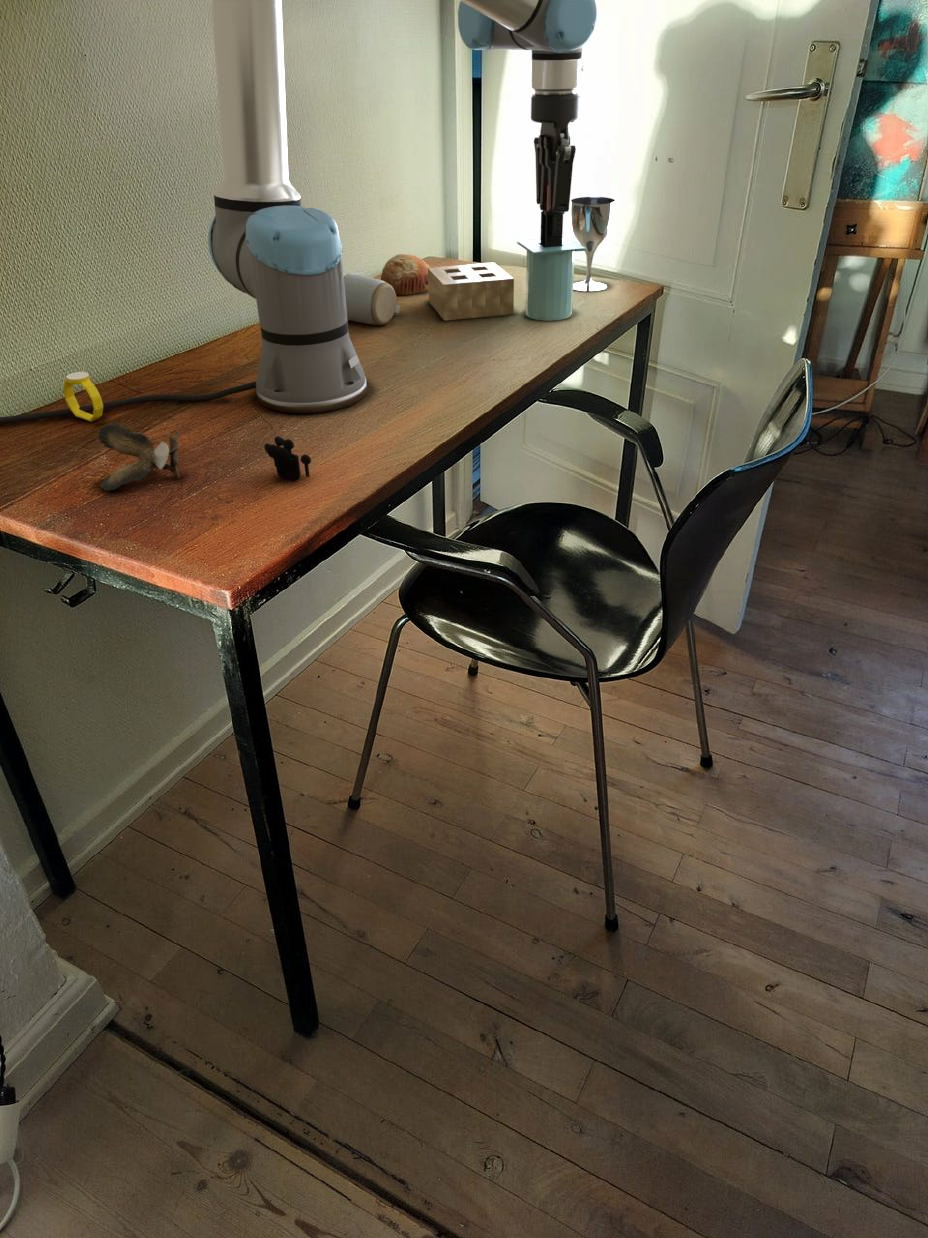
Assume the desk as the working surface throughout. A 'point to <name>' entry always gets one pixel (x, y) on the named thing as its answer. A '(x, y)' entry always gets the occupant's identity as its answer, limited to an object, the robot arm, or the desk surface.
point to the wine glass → (591, 231)
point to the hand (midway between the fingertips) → (550, 254)
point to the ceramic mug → (369, 299)
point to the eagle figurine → (137, 454)
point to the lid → (537, 249)
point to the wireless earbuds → (287, 459)
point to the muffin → (406, 274)
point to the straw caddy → (470, 291)
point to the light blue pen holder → (549, 285)
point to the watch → (91, 390)
